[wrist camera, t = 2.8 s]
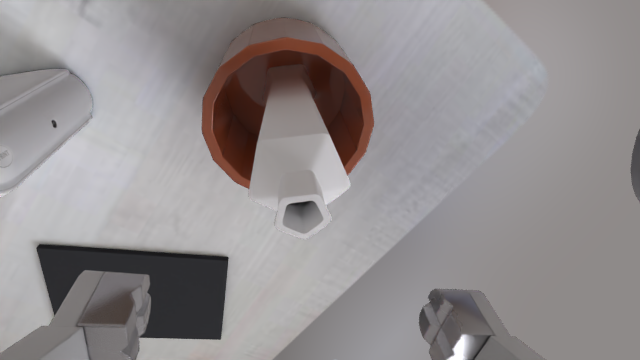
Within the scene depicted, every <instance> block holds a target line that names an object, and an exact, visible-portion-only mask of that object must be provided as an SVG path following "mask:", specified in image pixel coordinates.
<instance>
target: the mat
mask: <svg viewBox="0 0 640 360" xmlns="http://www.w3.org/2000/svg"><path fill="white" fill-rule="evenodd" d="M37 252H38V256H39V259H40V263H41V267H42V271H43V274H44V278H45V282H46V285H47V289H48V293H49V297H50V300H51V304H52V308H53V312H54V315H55V314H56V313H57V311H58V309H59V308H60V306H61V304H62V303H63V301H64V299H65V298H66V296H67V294H68V293H69V291H70V289H71V288H72V286H73V284H74V283H75V281H76V279H77V278H78V276H79V275H80V274H81V273H82V272H83V271H84V270H89V271H103V272H120V273H134V274H147V275H149V278H150V286H149V289H148V292H147V293H148V294H149V295H150V296H151V309H150V315H149V320H148V324H147V327H146V330H145V333H144V334H143V335H141V336H140V337H139V338H179V339H219V340H220V339H221V332H222V321H223V310H224V300H225V289H226V278H227V267H228V257H216V256H202V255H187V254H172V253H158V252H143V251H128V250H114V249H99V248H84V247H70V246H55V245H39V246H38V247H37Z"/></svg>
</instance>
